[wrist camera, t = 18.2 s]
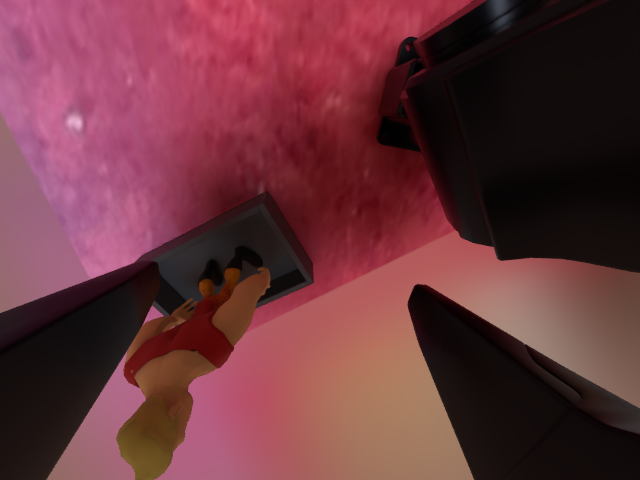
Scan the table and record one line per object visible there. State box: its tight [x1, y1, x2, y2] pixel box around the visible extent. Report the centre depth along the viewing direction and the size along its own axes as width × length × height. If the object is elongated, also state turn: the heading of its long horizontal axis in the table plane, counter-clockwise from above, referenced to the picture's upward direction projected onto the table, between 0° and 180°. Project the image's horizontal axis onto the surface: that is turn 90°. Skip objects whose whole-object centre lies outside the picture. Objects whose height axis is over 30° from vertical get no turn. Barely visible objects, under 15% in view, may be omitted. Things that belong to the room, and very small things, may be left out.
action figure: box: [116, 247, 270, 480], centre depth 16 cm, size 10×4×15 cm, turn 115°
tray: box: [134, 191, 314, 326], centre depth 22 cm, size 13×8×3 cm, turn 116°
